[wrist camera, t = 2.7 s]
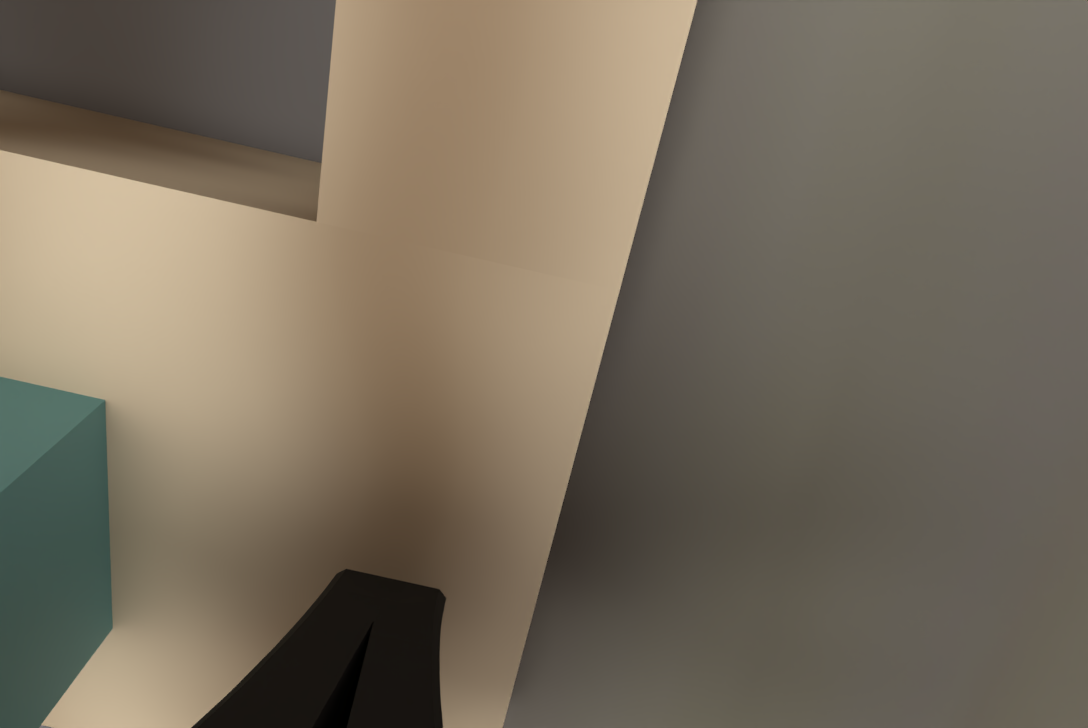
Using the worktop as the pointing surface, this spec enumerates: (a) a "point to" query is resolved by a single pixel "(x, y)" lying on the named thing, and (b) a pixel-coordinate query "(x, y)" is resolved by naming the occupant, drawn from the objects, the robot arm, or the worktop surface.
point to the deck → (321, 304)
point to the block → (50, 545)
